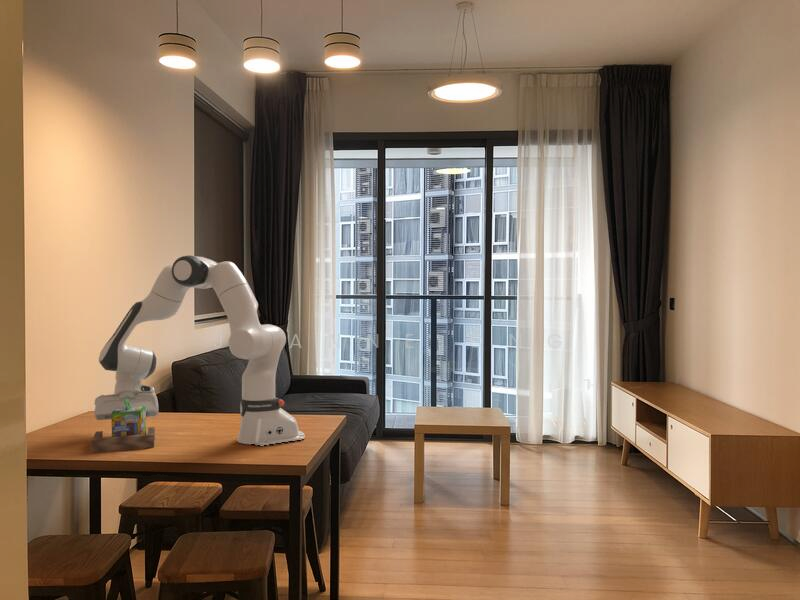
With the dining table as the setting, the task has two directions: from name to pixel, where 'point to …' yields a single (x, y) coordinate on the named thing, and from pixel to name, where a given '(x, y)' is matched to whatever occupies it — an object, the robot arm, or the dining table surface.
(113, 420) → the chalk box
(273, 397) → the robot arm
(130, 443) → the grey-brown shallow rectangular tray
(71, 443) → the dining table surface
